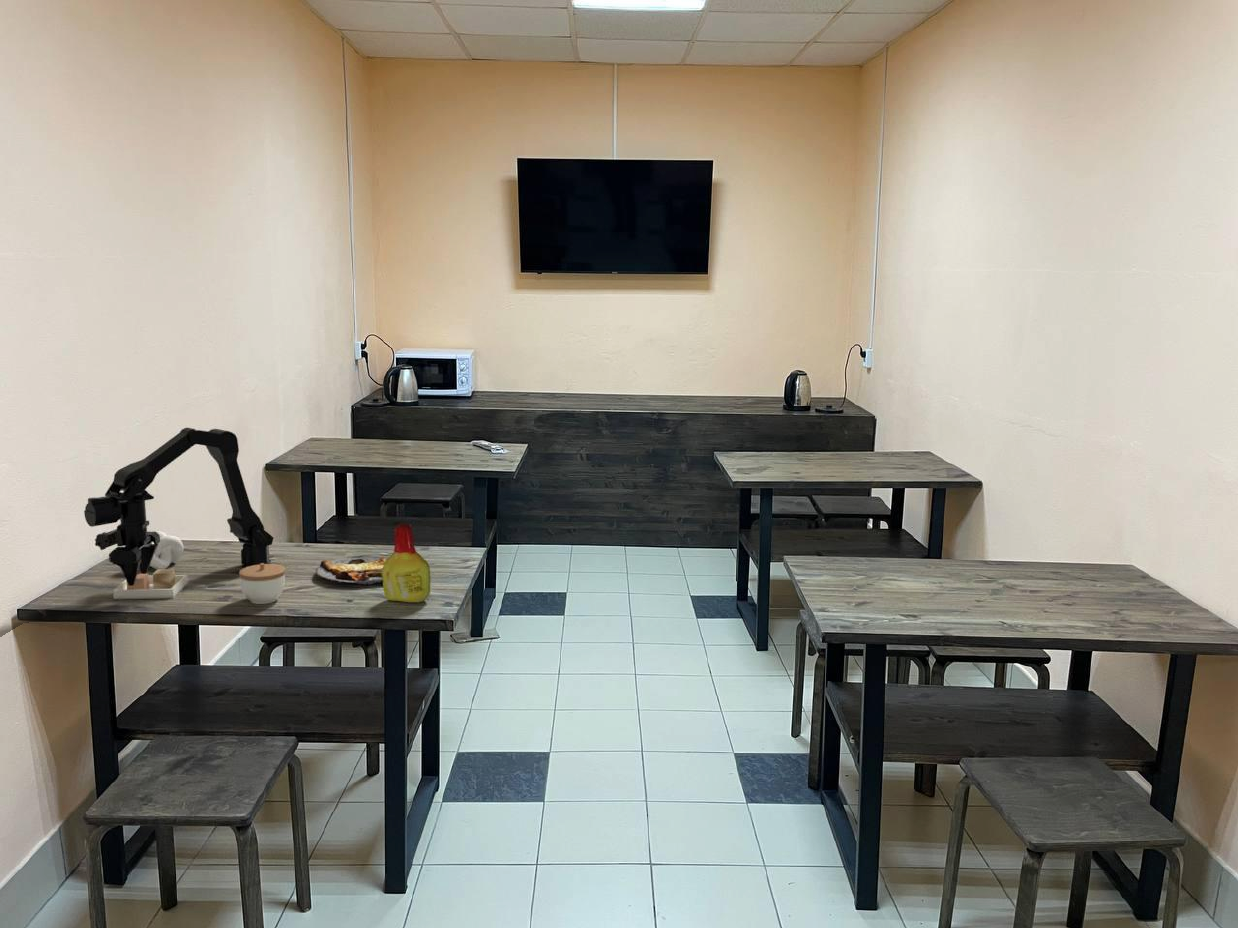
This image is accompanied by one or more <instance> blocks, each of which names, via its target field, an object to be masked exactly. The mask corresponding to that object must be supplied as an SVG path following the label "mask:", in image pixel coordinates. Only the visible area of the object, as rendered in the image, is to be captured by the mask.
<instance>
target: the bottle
mask: <svg viewBox="0 0 1238 928" xmlns="http://www.w3.org/2000/svg"><path fill="white" fill-rule="evenodd" d="M415 547H416V546H415V544H414V534H413V528H412V525H410V524H409V523H399V524H397V525H396V526H395V528H394V548H393V553H392V554H391V555H390V556H388V557H389V558H388V559H387V560H386V562H385V563H384V565H383V569H382V576H381V577H382V578H381V579H383V581H382V587H383V589H382V590H383V593H384V597H386V599H387V600H390V601H394V602H395V601H398V602H405V603H422V602H423V601H425V600H426V598H427V597H428V596H429V595H430V594H431V568H430V564H429V563H428V561H427V560H426V559H425V558H423V556H421V554H420V553H418V552H417V551H416V548H415Z"/></svg>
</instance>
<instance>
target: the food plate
mask: <svg viewBox="0 0 1238 928" xmlns="http://www.w3.org/2000/svg"><path fill="white" fill-rule="evenodd" d="M389 557H390V556H387V555H373V554H366V555H365V554H364V555H356V556H355V555H354V556H348V557H343V558H341V557H340V558H336V559H332V560H328V559H327V560H326V559H324V560H321V561H320V565H319V566H317V567H316V570H315V575H316V576H317V577H320V578H323V579H326V580H328V581H332V582H337V583H343V582H344V583H345V584H351V583H352V584H357V585H368V586H369V585H373V584H376V583H381V582H383V578H378V579H376V578H375V577H377V576H381V577H382V569H383V565H384V563H385V562H386V560H387V559H388V558H389ZM360 574H361V575H360ZM373 578H375V579H376V580H372V579H373Z"/></svg>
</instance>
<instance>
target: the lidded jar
mask: <svg viewBox="0 0 1238 928" xmlns="http://www.w3.org/2000/svg"><path fill="white" fill-rule="evenodd" d="M238 574H239V581H240V589H241V591H242V593H243V595H244V596H245V598H246V599H247V600H249V601H250V603H251V604H255V605H266V604H271V603H273V602H276V601H277V599H278V597H280V595H281V594H282V593H283V590H284V589H285V583H286V567H284V566H283V565H279V564H275V563H270V564H264V563H261V564H259V565H253V566H249V567H246V568H242V569H240V570H239V572H238Z"/></svg>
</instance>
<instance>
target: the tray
mask: <svg viewBox="0 0 1238 928" xmlns="http://www.w3.org/2000/svg"><path fill="white" fill-rule="evenodd" d="M188 581H189V580H188V574H175V585H174V586H173V587H172V588H171V589H154V585H153V574H152V575H151V574H150V575H149V587H150V589H131V590H127V580H126V579H125V580H124V581H122V582H121V583H120V584H119V585H118V586H116V588H114V589H113V590H112V595H113V597H112V598H113V600H127V599H128V600H130V599H131V600H133V599H134V600H135V599H136V600H138V599H143V600H144V599H175V598H176V596H177V595H178V594H180V592H181V591H182V590H183V589H184V588H185V587H186V586H187V584H188V583H189V582H188Z"/></svg>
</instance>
